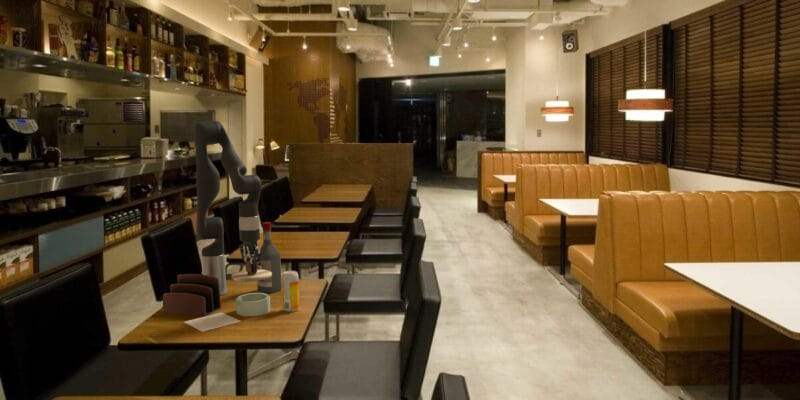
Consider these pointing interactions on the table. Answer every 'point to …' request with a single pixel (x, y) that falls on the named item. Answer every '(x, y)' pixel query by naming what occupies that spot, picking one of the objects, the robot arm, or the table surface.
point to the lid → (251, 275)
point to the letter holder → (193, 295)
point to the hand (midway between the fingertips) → (251, 272)
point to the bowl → (253, 304)
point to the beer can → (291, 291)
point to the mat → (212, 321)
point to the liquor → (269, 263)
